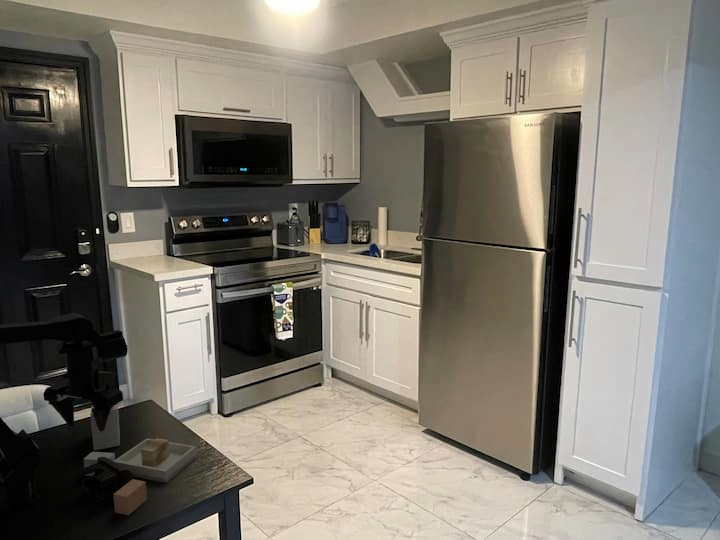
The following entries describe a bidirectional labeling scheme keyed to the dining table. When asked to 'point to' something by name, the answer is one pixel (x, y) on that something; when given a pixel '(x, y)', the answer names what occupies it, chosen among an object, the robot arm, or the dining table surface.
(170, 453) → the tray
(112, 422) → the light bulb box
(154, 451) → the maple block
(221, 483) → the dining table surface
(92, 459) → the pale blue block
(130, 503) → the terracotta block
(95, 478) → the end cap
